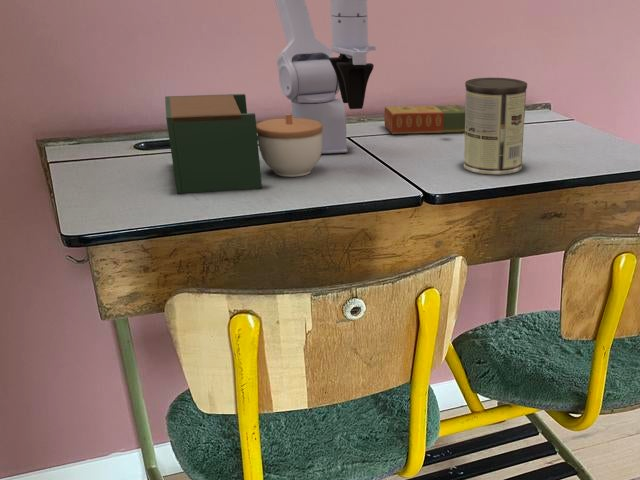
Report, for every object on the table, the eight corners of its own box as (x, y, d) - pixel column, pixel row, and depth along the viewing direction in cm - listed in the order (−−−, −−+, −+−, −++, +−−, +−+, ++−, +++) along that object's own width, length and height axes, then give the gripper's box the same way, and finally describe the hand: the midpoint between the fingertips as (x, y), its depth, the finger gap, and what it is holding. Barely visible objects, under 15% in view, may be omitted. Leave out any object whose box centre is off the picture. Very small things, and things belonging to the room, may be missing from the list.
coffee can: (473, 157, 148) (475, 75, 141) (528, 163, 145) (533, 79, 138) (454, 171, 139) (457, 84, 133) (513, 177, 137) (518, 89, 130)
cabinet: (251, 161, 142) (244, 93, 137) (262, 188, 128) (255, 114, 123) (174, 165, 139) (164, 96, 133) (177, 193, 125) (166, 117, 119)
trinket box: (312, 182, 131) (308, 123, 127) (249, 178, 133) (243, 118, 129) (333, 166, 141) (330, 109, 136) (274, 161, 142) (270, 106, 138)
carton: (384, 126, 169) (383, 105, 167) (458, 124, 173) (459, 103, 171) (392, 135, 162) (392, 113, 160) (469, 132, 166) (470, 110, 164)
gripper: (384, 19, 123) (386, 113, 130) (364, 11, 135) (366, 96, 142) (338, 20, 121) (342, 114, 128) (321, 11, 133) (326, 98, 140)
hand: (352, 105), depth 134 cm, fingers open, 5 cm apart
